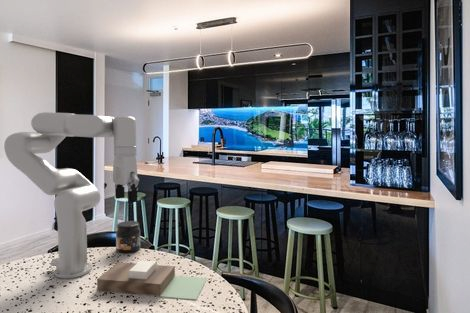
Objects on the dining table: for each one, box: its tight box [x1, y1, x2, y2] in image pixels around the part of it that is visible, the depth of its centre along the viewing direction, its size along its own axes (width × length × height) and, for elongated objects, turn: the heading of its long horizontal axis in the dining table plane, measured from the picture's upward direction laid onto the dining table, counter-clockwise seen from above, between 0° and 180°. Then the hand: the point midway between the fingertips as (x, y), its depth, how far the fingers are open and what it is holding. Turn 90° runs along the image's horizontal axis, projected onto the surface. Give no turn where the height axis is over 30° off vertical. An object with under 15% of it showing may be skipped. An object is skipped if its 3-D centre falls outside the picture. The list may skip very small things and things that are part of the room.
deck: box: [96, 261, 176, 297], centre depth 110 cm, size 22×14×4 cm, turn 82°
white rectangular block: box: [129, 259, 157, 279], centre depth 110 cm, size 6×9×2 cm, turn 172°
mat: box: [159, 275, 208, 301], centre depth 108 cm, size 12×15×1 cm
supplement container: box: [115, 220, 142, 254], centre depth 142 cm, size 10×10×12 cm
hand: (126, 200), depth 112 cm, fingers open, 9 cm apart
